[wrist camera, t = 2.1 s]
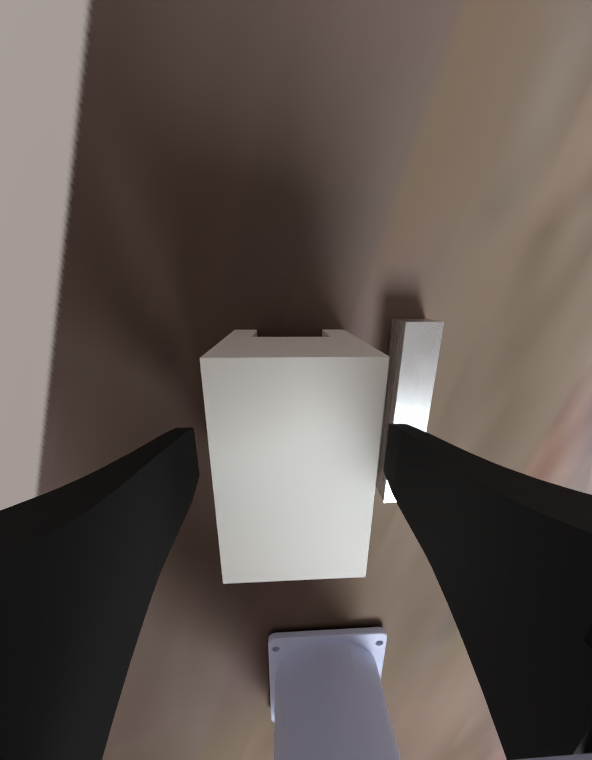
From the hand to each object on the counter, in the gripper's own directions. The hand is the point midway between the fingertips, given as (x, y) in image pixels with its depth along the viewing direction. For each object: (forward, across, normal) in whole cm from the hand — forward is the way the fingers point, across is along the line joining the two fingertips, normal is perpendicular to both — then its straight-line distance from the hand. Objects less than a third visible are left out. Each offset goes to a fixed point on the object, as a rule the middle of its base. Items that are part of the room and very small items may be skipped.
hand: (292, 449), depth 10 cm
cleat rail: (+4, -6, 0) cm, 7 cm away
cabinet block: (+4, 0, 0) cm, 4 cm away
